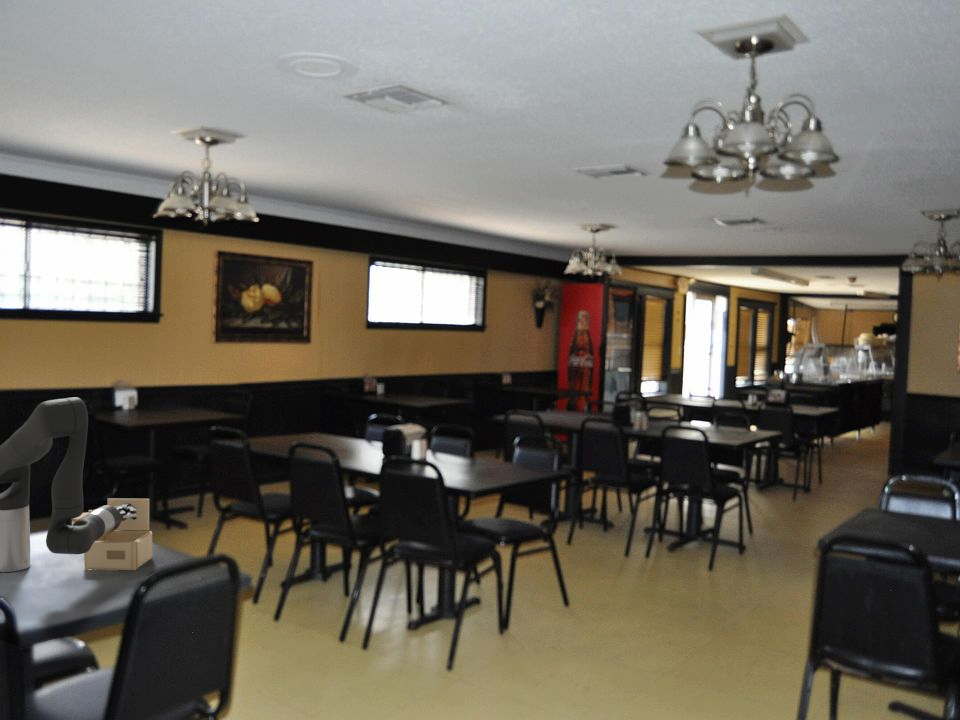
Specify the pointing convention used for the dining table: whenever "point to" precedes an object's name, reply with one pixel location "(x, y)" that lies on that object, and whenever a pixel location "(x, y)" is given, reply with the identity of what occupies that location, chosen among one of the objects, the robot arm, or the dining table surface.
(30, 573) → the dining table surface
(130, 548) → the carton
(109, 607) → the dining table surface
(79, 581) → the dining table surface
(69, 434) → the robot arm
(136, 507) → the flap
